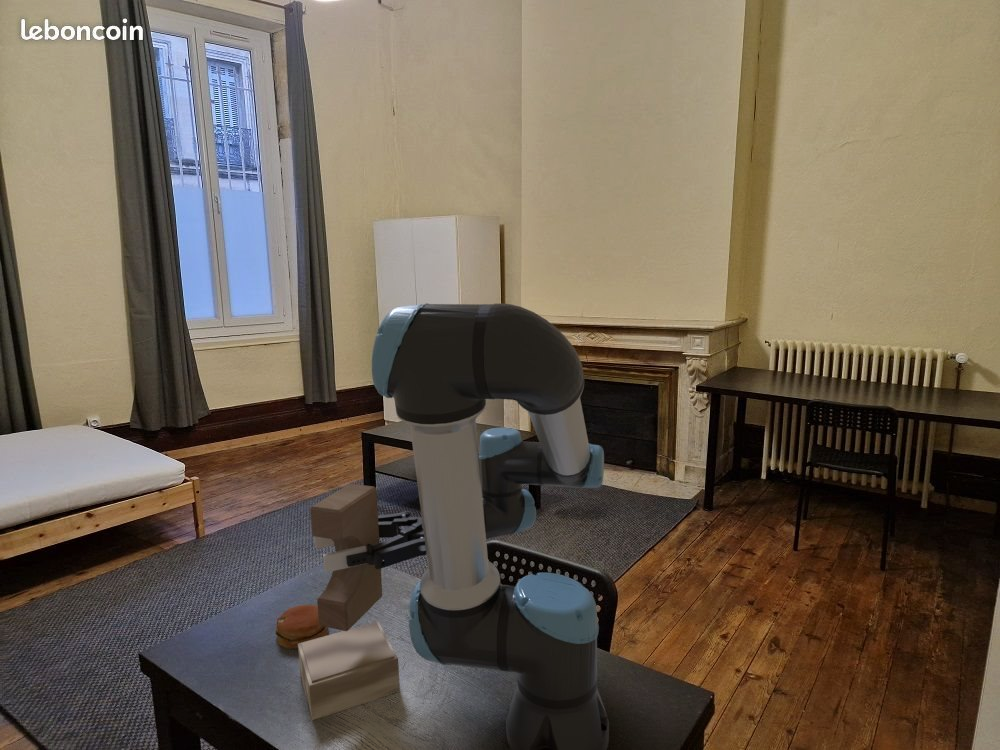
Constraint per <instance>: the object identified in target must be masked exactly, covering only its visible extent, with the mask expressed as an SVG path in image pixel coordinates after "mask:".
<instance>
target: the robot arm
mask: <svg viewBox="0 0 1000 750" xmlns="http://www.w3.org/2000/svg"><path fill="white" fill-rule="evenodd" d="M371 377H372V382H373V385H374V387H375V389H376V391H377V394H379V395H381V396H382V397H385V398H387V399H393V400H394V405H395V412H396V416H397V418H398V419H399V420H400V421H402V422H403V423H404V424H406V425H408V426H409V428H410V436H411V444H412V453H413V459H414V468H415V475H416V482H417V490H418V498H419V505H420V515H421V516H411V511H410V510H406V511H401V512H397V513H389V514H388V513H387V514H380V515H379V514H378V525H379V539H380V538H381V539H383V538H386V540H383V541H382V542H379V544H377V545H374V546H373V545H371V544H367V551H366V547H365V546H361V547H356V548H351V549H347V550H342V551H337V552H336V551H334V552H328V553H324V554H322V558H323V561H322V562H323V572H324V573H330V572H331V573H332V572H333V571H336V570H340V569H345V568H349V567H354V566H358V565H363V564H367V563H368V564H369V565H375V568H376V569H381V570H382V569H384V568H387V567H390V566H393V565H395V564H396V565H397V564H399V563H402V562H405V561H409V560H411V559H414V558H418V557H421V556H426V560H427V562H426V563H427V570H426V571H425V572H424V573H423V574H422V576H421V578H420V580H419V581H418V582H417V584H416V586H415V587H414V589H413V591H412V595H411V598H410V601H409V608H408V610H409V612H410V613H409V614H410V616H409V618H408V629H409V636H410V639H411V643H412V646H413V648H414V650H415V652H416V653H417V655H418V656H420V657H421V658H422V659H424V660H427V661H430V662H434V663H438V664H441V665H444V666H447V665H448V666H451V665H452V666H459V667H467V668H468V667H469V668H477V669H483V670H489V671H491V670H492V671H499V672H508V673H512V674H513V673H514V674H516V679H517V680H516V683H517V684H516V687H515V690H514V693H513V696H512V699H511V703H510V705H509V708H508V710H507V713H506V714H507V715H506V720H505V722H506V723H505V726H506V727H505V728H506V729H505V731H506V732H505V733H506V741H507V744H508V746H509V748H510V750H607V749H608V747H609V742H610V722H609V717H608V714H607V712H606V708H605V706H604V703H603V700H602V697H601V695H600V692H599V688H598V635H599V632H600V631H599V629H600V627H599V626H600V625H599V622H598V615H597V614H598V612H597V609H598V608H597V603H596V601H595V600H596V599H595V598H594V595H592V593H591V592H590V590H589V589H588V588H586V587H585V586H584V585H583V584H582V583H581V582H580V581H577V580H575V579H573V578H570V577H568V576H567V575H564V574H563V575H562V574H559V573H554V572H537V573H536V574H532V573H531V574H530V573H529V574H527V575H525V576H523V577H522V578H520V579H519V580H518V581H517V583H516V585H508V584H501V576H500V572H499V570H498V568H497V566H496V565H494V563H492V562H491V561H489V560H488V559H489V558H488V547H487V540H488V539H492V538H498V537H502V536H507V535H514V534H517V533H520V532H524V531H526V530H528V529H530V528H532V527H533V525H534V524H535V522H536V519H537V508H536V506H535V503H536V502H535V499H534V497H533V495H532V493H530V491H528V489H526V488H525V489H524V488H523V485H530V486H531V485H533V486H549V487H560V488H561V487H563V488H577V489H584V488H586V489H587V488H588V489H589V488H590V489H595V488H600V487H601V486H602V485H603V483H604V471H605V452H604V448H603V447H602V446H601V445H599V444H593V443H589V439H588V434H587V432H588V431H587V428H586V427H587V426H586V423H585V418H584V416H585V415H584V412H583V406H582V402H581V396H582V394H583V391H584V387H585V375H584V368H583V364H582V361H581V358H580V356H579V355H578V352H577V351H576V349H575V347H574V346H573V344H572V343H571V341H569V339H568V338H567V337H566V336H565V334H564V333H563V332H561V330H560V329H559V328H558V327H556V326H555V325H554V324H553V323H551V322H550V321H549V320H548V319H547V318H544V317H542V316H541V315H540V314H538V313H536V312H534V311H532V310H529V309H528V308H524V307H522V306H519V305H515V304H510V303H492V304H491V303H490V304H488V303H487V304H485V303H484V304H478V303H477V304H476V303H475V304H474V303H473V304H471V303H469V304H466V303H465V304H464V303H463V304H462V303H461V304H459V303H456V304H455V303H454V304H453V303H441V304H440V303H427V302H424V303H421V304H413V305H412V304H410V305H401V306H396V307H394V308H393V309H391V310H389V312H388V313H387V314H386V315H385V316H384V318H383V320H382V321H381V323H380V325H379V328H378V330H377V333H376V335H375V339H374V342H373V348H372V355H371ZM487 400H510V401H515V402H517V404H518V405H519V406H520V407H521V408H522V409H523V410H525V411H526V412H527V413H528V415H529V417H530V418H529V419H530V421H531V423H532V426H533V429H534V431H535V433H536V437H537V439H538V441H539V442H537V441H523V438H522V435H521V431H519V430H518V429H516V428H510V427H506V426H505V427H493V428H489V429H486V430H484V431H483V432H482V433H481V435H480V436H479V440H478V433H477V430H478V429H477V420H476V419H477V418H478V417H480V415H481V414H482V413H483V412H484V410H486V406H487ZM478 441H479V443H478ZM313 538H314V548H315V550H318V549H324V548H328V547H335V545H334V542H333V541H332V539H328V538H321V537H315V536H313ZM387 538H388V539H387Z"/></svg>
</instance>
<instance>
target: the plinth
mask: <svg viewBox="0 0 1000 750" xmlns="http://www.w3.org/2000/svg"><path fill="white" fill-rule="evenodd" d="M297 651H298V660H299V661H298V662H299V672H300V680H301V681H302V686H303V690H304V694H305V698H306V702H307V706H308V709H309V712H310V713H309V714H310V716H311V720H312V721H315V720H318V719H320V718H321V719H322V718H324V717H327V716H329V715H333V714H335V713H338V712H341V711H345V710H348V709H351V708H354V707H358V706H360V705H363V704H366V703H369V702H371V701H374V700H375V701H376V700H377V699H380V698H384V697H387V696H389V695H388V694H390V695H392V694H391V693H393V694H395V693H394V692H396V693H399V692H401V688H400V670H399V669H400V668H399V667H400V666H399V658H398V655H397V654H396V651H395V650H394V649H393V646H392V645H391V643H390V641H389V639H388V636H387V635H386V632H385V631H384V629H383V628H382V626H381V624H380V621H375V622H371V623H368V624H364V625H361V626H357V627H353V628H350V629H349V630H348V631H343V630H341V631H340V632H339V631H338V632H335V633H331V634H327V635H326V636H324V637H320V638H316V639H313V640H309V641H306V642H302V643H298V648H297ZM398 691H399V692H398ZM386 695H387V696H386Z"/></svg>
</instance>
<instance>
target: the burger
mask: <svg viewBox="0 0 1000 750" xmlns="http://www.w3.org/2000/svg"><path fill="white" fill-rule="evenodd" d="M328 633H329V628H328V627H324V626H320V625H319V618H318V605H316V604H301V605H296V606H293V607H290V608H288V609H287V610H286V611H285V612H283V614H281V615H280V616H278V618H277V619H276V627H275V635H276V642H277V644H278V645H279V646H280V647H281V648H284V649H289V650H292V649H293V650H294V649H298V643H302V642H306V641H309V640H313V639H316V638H320V637H324V636H327V635H329V634H328Z"/></svg>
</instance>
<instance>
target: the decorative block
mask: <svg viewBox="0 0 1000 750" xmlns="http://www.w3.org/2000/svg"><path fill="white" fill-rule="evenodd" d="M378 507H379V506H378V491H377V487H375V486H372V485H371V486H370V485H365V484H364V485H363V484H356V483H355V484H354V483H349V484H347V485H345V486H344V487H342V488H340V489H339V490H337V491H335V492H334V493H332V494H330V495H329V496H327V497H325V498H324V499H322V500H320V501H319V502H317V503H315V504H314V505H312V506H311V507H310V509H309V510H310V513H309V514H310V524H311V535H312V537H314V536H315V537H321V538H328V539H332V541H333V542H334V545H335V546H334V549H335V552H337V551H342V550H347V549H351V548H356V547H361V546H365V547H366V551H367V544H371V545H373V546H374V545H377V544H379V543H380V538H379V525H378V516H379V511H378ZM315 537H314V538H315ZM382 581H383V580H382V568H381V569H376V568H375V565H369V564H368V563H367V564H363V565H358V566H354V567H349V568H345V569H340V570H336V571H331V576H330V578H329V581H328V583H327V585H326V587H325V588H324V589H325V590H324V591H322V593H321V594H320V595H319V596H318V598H317V599H316V601H317V605H316V606H318V618H319V625H320V626H324V627H328V629H329V628H330V629H334V630H339V631H348V630H349V629H352V627H353V626H354V625H355V624H356V623H357V622H358V621H359V620H360V619H362V617H363V616H364V615H365V614H367V612H368V611H370V610H371V608H372V607H373V606H374V605H375V604H376V603H378V601H380V599H381V598H382V597H383V584H382Z"/></svg>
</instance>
